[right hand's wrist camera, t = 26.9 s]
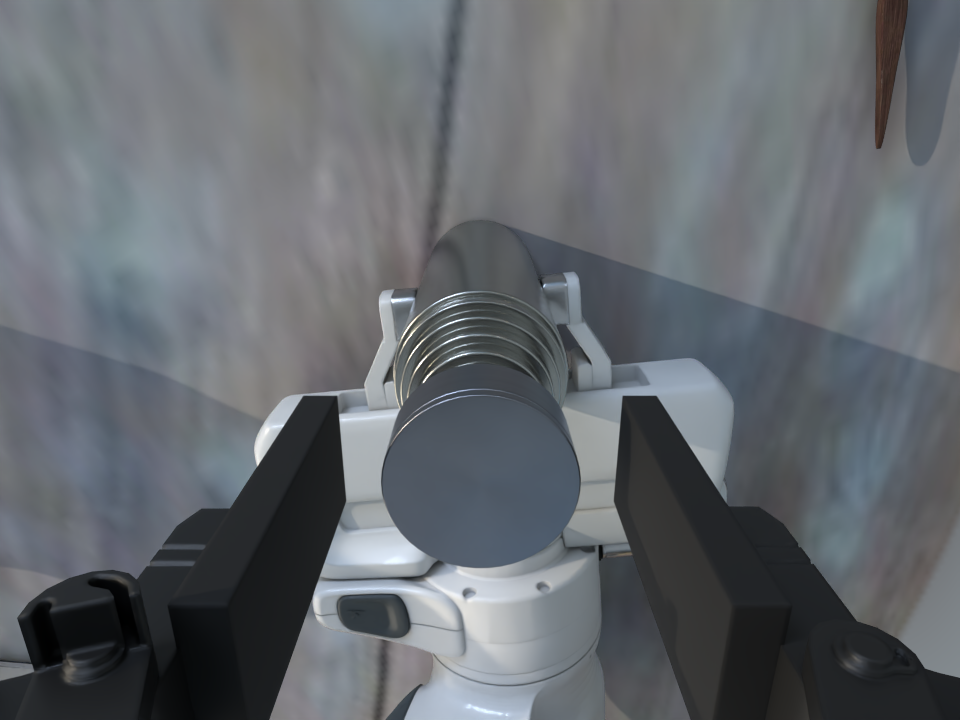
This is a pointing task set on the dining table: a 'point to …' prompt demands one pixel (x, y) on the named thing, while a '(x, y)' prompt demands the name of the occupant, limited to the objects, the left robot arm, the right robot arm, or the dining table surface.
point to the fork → (887, 57)
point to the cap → (480, 467)
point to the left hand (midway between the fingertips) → (477, 283)
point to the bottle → (480, 313)
